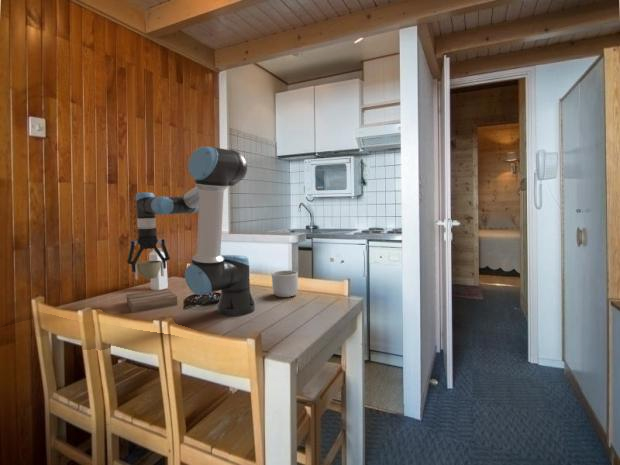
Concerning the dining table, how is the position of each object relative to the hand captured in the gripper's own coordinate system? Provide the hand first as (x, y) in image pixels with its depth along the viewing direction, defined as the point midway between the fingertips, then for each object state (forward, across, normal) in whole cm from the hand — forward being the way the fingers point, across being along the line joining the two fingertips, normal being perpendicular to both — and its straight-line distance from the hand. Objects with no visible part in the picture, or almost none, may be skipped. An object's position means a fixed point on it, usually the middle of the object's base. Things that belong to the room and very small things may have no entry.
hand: (149, 277), depth 157 cm
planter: (+12, -55, +25) cm, 62 cm away
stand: (+12, 0, 0) cm, 12 cm away
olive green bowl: (0, 0, 0) cm, 0 cm away
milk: (+13, -9, -30) cm, 34 cm away
